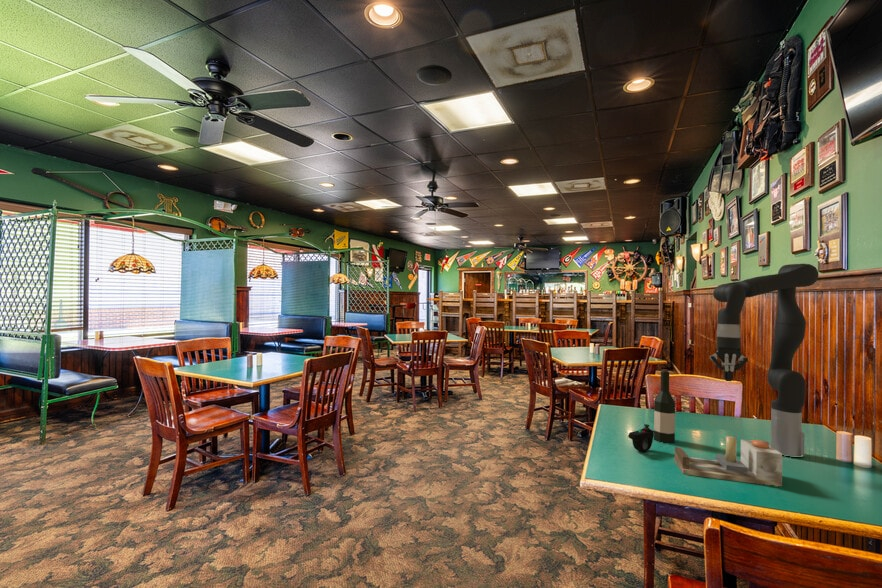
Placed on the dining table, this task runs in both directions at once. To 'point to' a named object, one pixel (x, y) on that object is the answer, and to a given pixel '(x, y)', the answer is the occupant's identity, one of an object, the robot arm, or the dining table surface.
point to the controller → (642, 438)
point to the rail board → (760, 471)
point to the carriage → (731, 457)
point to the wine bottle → (664, 412)
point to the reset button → (760, 444)
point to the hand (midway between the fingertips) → (728, 380)
